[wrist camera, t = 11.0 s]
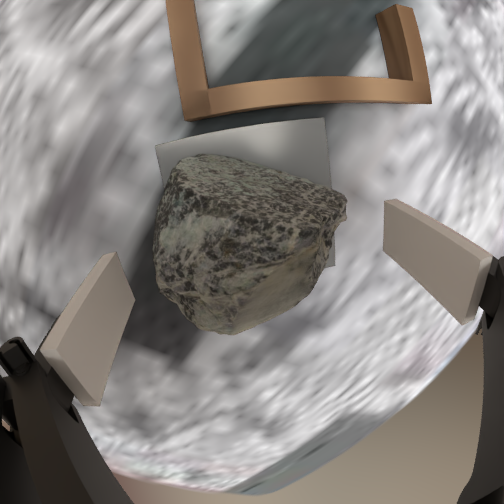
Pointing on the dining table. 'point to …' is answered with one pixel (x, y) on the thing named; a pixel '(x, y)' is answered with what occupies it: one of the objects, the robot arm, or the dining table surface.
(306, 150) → the slate coaster
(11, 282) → the dining table surface
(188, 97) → the frame
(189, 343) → the dining table surface
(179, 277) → the stone
